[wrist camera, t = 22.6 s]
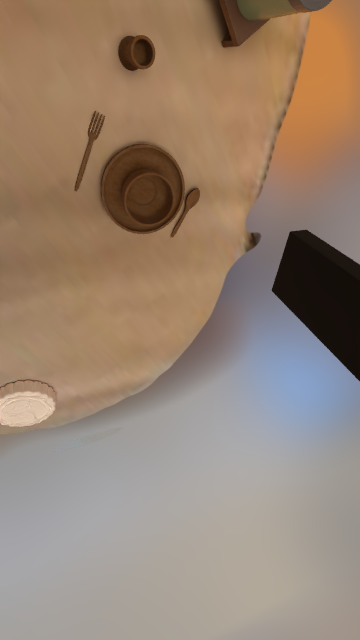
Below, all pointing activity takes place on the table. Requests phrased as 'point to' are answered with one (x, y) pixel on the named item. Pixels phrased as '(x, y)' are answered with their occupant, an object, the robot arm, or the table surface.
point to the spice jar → (277, 8)
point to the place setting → (140, 168)
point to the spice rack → (237, 24)
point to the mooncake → (26, 403)
